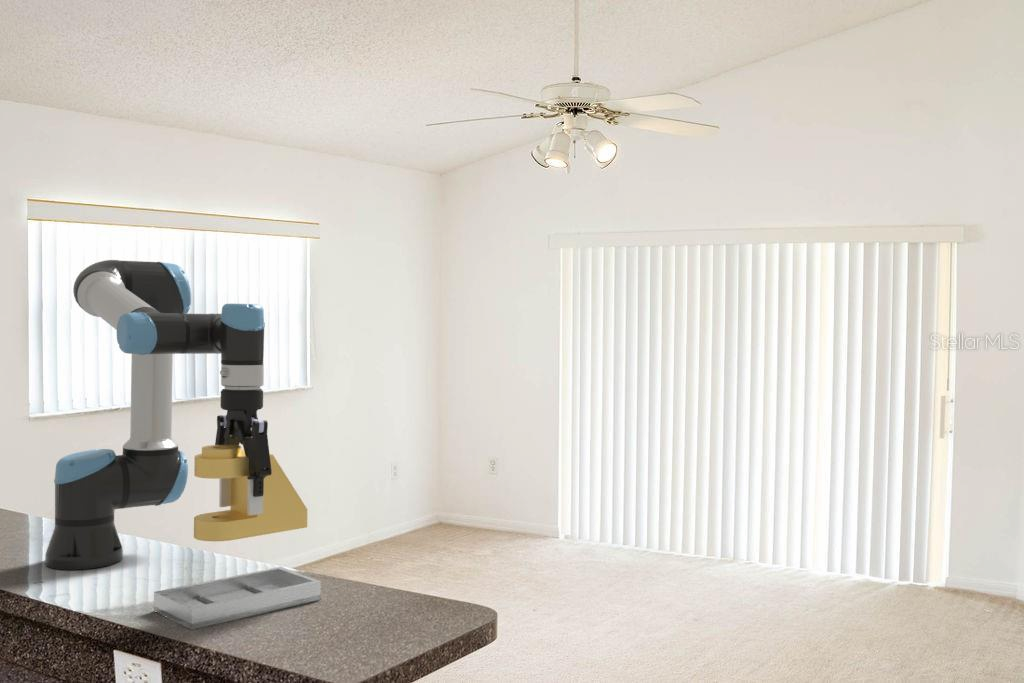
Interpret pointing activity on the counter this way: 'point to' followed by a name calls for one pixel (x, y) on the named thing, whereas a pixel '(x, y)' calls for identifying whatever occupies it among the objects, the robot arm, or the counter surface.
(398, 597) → the counter surface
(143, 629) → the counter surface
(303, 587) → the tray
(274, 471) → the yellow mounting bracket
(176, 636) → the counter surface
